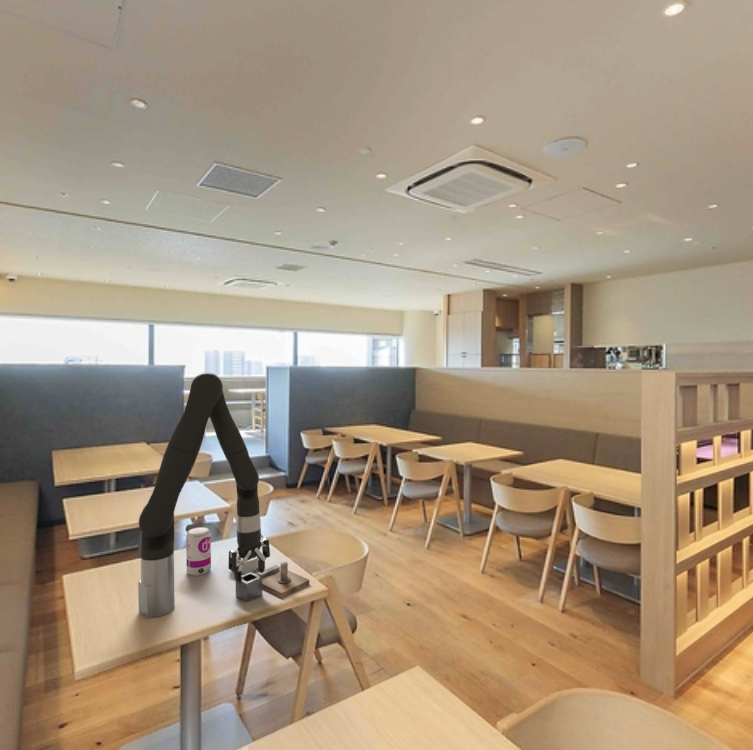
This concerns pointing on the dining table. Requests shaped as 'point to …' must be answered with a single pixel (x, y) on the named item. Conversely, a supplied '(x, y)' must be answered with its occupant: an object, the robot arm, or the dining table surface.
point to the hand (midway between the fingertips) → (250, 576)
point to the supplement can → (198, 551)
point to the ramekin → (249, 565)
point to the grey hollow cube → (249, 587)
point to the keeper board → (281, 587)
